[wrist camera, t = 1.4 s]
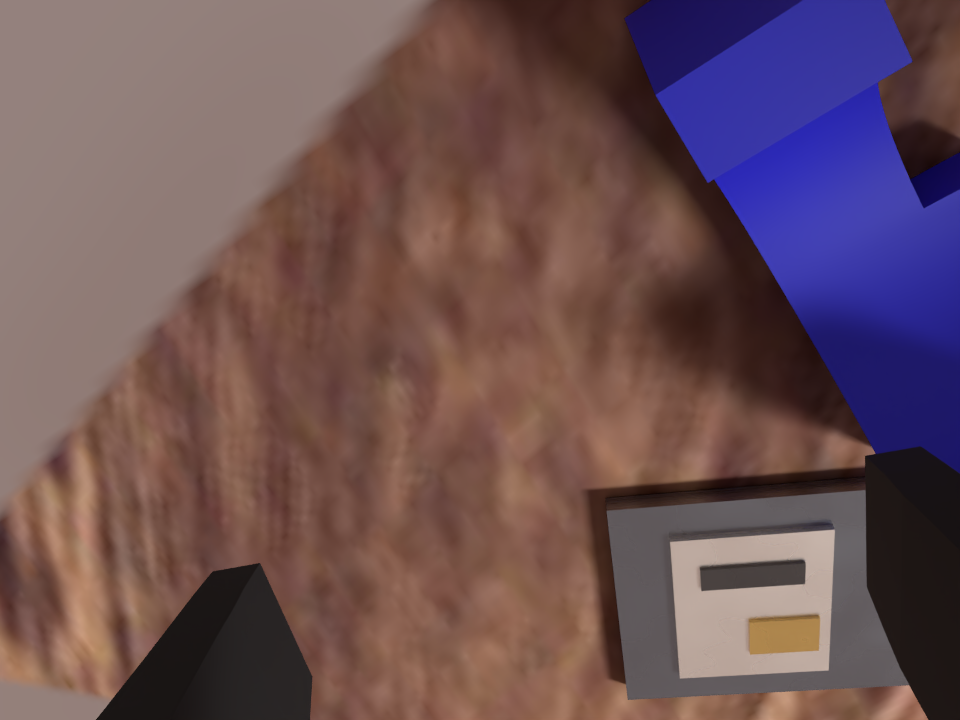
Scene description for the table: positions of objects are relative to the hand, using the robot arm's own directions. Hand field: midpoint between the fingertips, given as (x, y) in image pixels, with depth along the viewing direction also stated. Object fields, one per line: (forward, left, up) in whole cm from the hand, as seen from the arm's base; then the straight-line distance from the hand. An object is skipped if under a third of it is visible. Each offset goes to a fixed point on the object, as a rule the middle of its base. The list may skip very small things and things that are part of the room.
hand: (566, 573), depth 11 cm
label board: (-8, +11, -10) cm, 17 cm away
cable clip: (-6, 0, -11) cm, 12 cm away
